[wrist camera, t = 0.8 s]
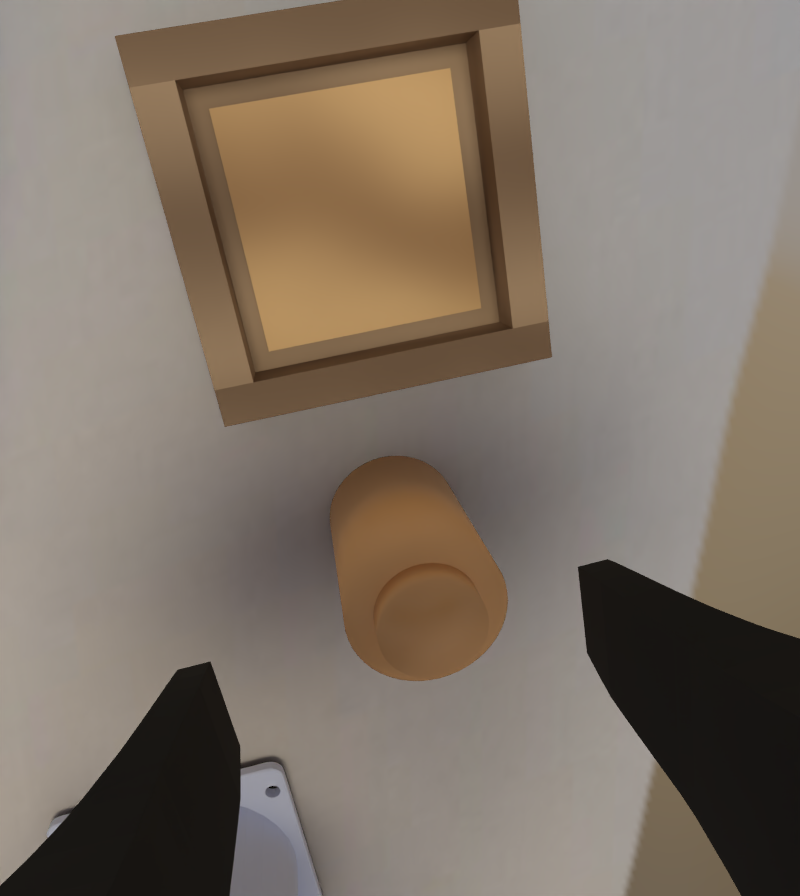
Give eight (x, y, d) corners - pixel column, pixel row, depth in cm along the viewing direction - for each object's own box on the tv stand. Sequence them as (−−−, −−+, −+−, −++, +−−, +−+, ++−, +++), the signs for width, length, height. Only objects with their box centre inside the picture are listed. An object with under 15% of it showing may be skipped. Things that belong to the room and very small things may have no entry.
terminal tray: (529, 345, 20) (552, 356, 18) (230, 408, 19) (224, 426, 17) (492, -3, 17) (515, -27, 15) (132, 54, 16) (114, 35, 14)
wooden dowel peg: (462, 555, 22) (526, 679, 16) (343, 583, 22) (365, 721, 16) (444, 443, 21) (508, 534, 15) (317, 471, 20) (329, 576, 14)
